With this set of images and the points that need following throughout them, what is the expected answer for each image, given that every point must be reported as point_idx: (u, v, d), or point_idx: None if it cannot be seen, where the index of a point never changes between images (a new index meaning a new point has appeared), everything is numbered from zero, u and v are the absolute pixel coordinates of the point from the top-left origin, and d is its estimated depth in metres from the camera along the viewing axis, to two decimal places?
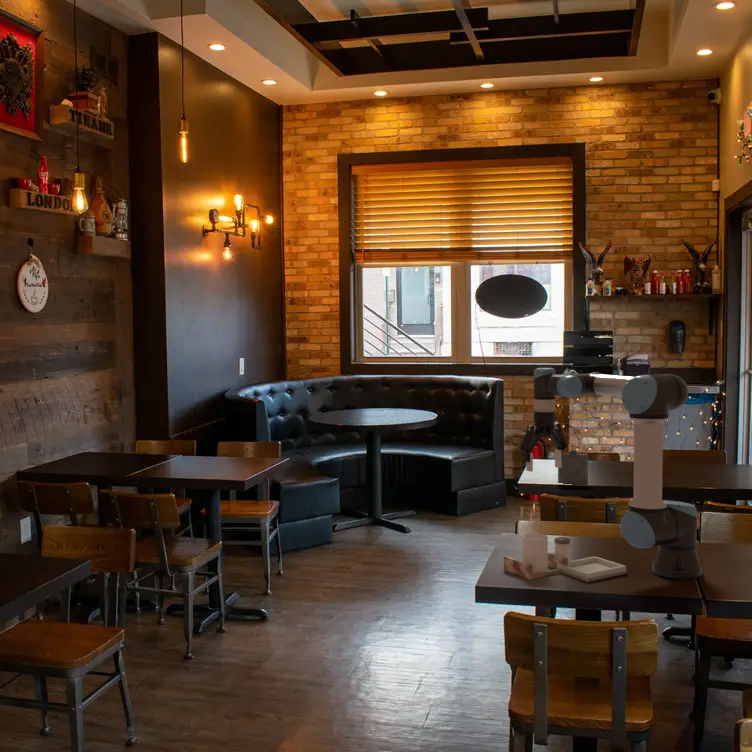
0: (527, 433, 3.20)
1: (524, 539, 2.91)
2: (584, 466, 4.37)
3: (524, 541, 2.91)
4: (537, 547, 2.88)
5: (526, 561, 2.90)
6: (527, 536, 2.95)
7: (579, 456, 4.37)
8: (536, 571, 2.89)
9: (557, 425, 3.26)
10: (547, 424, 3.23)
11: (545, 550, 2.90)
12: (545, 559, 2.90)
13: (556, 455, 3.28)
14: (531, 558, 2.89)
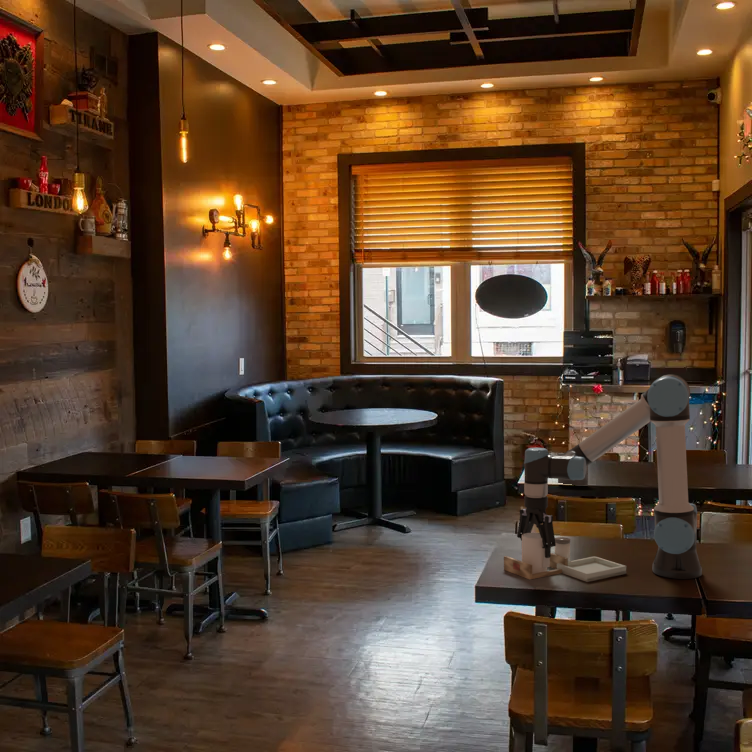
0: None
1: (523, 538, 2.91)
2: None
3: (523, 540, 2.92)
4: (536, 547, 2.89)
5: (525, 560, 2.91)
6: (526, 535, 2.96)
7: None
8: (535, 570, 2.89)
9: None
10: (534, 511, 2.92)
11: None
12: None
13: None
14: (530, 557, 2.90)
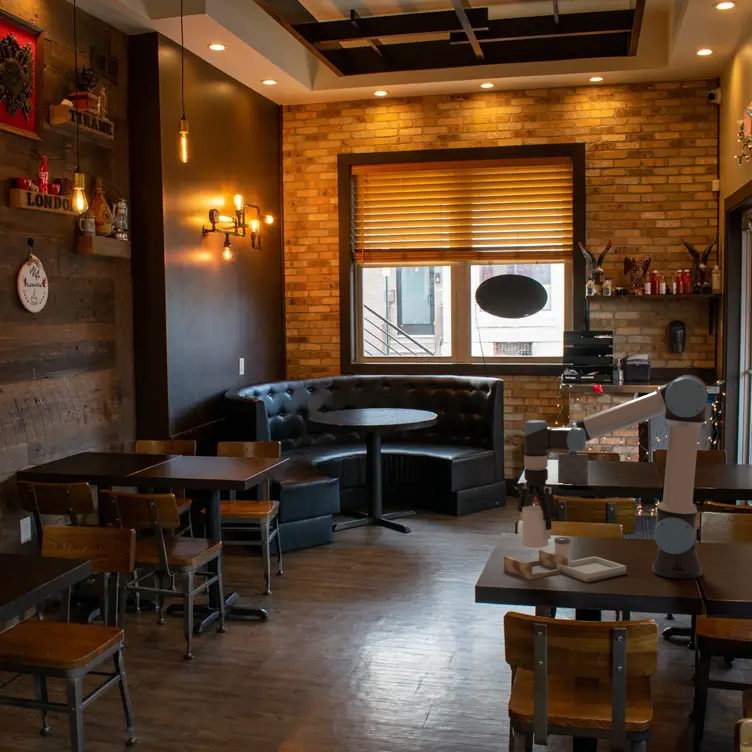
0: None
1: (524, 511, 2.91)
2: (584, 466, 4.37)
3: (523, 513, 2.91)
4: (536, 519, 2.88)
5: (526, 533, 2.90)
6: (527, 508, 2.95)
7: (579, 456, 4.37)
8: (536, 543, 2.89)
9: None
10: (534, 483, 2.92)
11: None
12: None
13: None
14: (531, 530, 2.89)
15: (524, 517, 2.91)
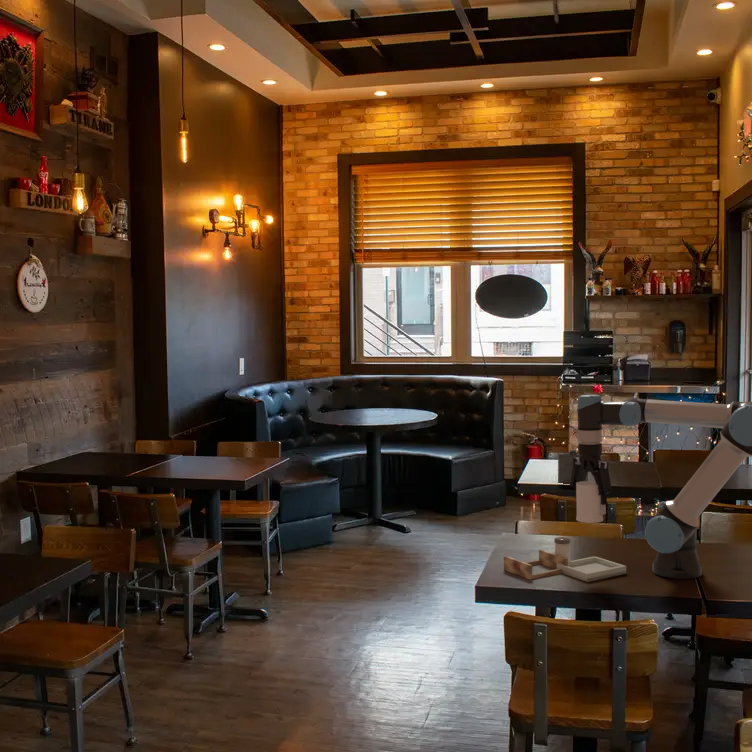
0: None
1: (578, 486, 2.88)
2: None
3: (578, 488, 2.88)
4: (592, 494, 2.85)
5: (581, 508, 2.87)
6: (581, 484, 2.92)
7: (579, 456, 4.37)
8: (591, 518, 2.86)
9: None
10: (588, 458, 2.89)
11: None
12: None
13: None
14: (586, 505, 2.86)
15: (579, 492, 2.88)
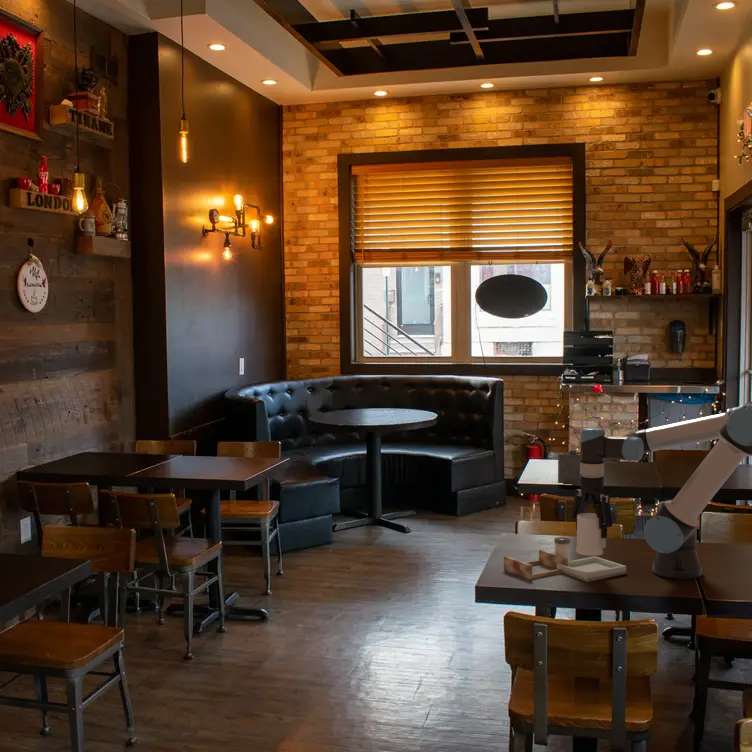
0: None
1: (579, 519, 2.89)
2: None
3: (578, 521, 2.89)
4: (592, 527, 2.86)
5: (581, 541, 2.88)
6: (581, 516, 2.93)
7: (579, 456, 4.37)
8: (591, 551, 2.87)
9: None
10: (590, 491, 2.89)
11: None
12: None
13: None
14: (586, 538, 2.87)
15: (579, 525, 2.89)
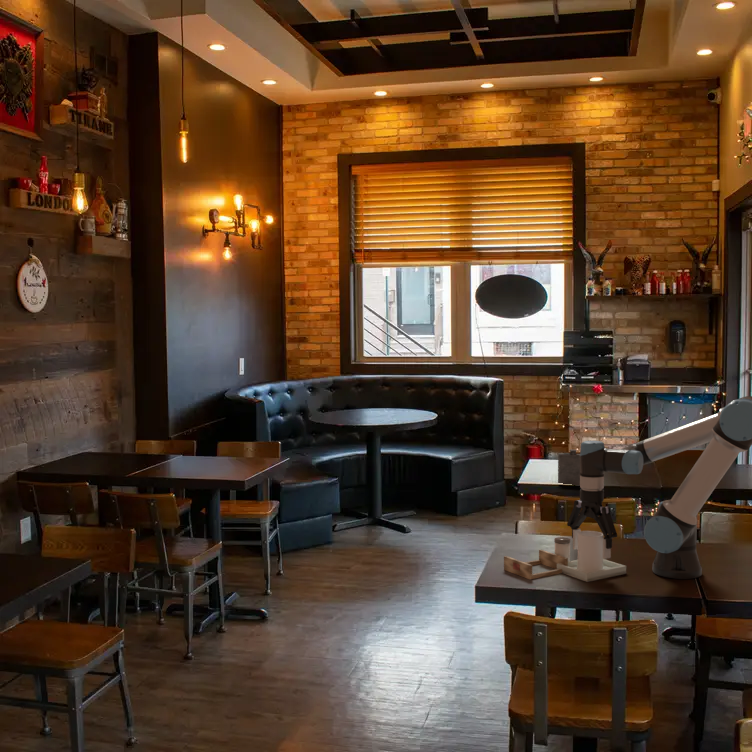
0: None
1: (579, 536, 2.89)
2: None
3: (579, 539, 2.90)
4: (592, 545, 2.87)
5: (581, 559, 2.89)
6: (582, 534, 2.94)
7: (579, 456, 4.37)
8: (591, 569, 2.87)
9: None
10: (590, 504, 2.90)
11: (601, 548, 2.88)
12: (600, 557, 2.88)
13: None
14: (586, 556, 2.87)
15: (580, 542, 2.89)
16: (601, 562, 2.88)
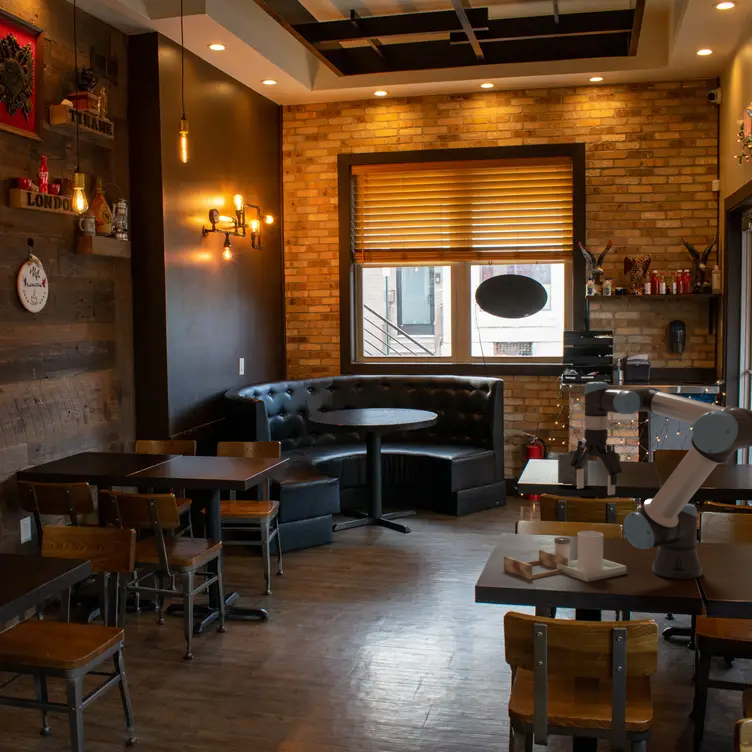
0: None
1: (579, 536, 2.89)
2: (584, 466, 4.37)
3: (579, 539, 2.90)
4: (592, 545, 2.87)
5: (581, 559, 2.89)
6: (582, 534, 2.94)
7: None
8: (591, 569, 2.87)
9: None
10: (594, 443, 2.99)
11: (600, 548, 2.88)
12: (600, 557, 2.88)
13: None
14: (586, 556, 2.87)
15: (580, 542, 2.89)
16: (601, 562, 2.88)
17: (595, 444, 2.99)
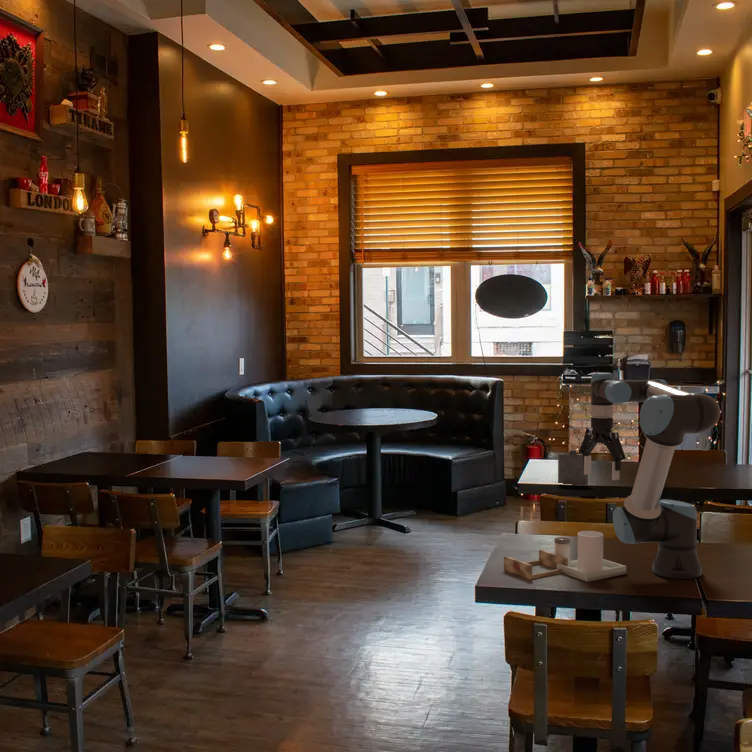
0: None
1: (579, 536, 2.89)
2: None
3: (579, 539, 2.90)
4: (592, 545, 2.87)
5: (581, 559, 2.89)
6: (582, 534, 2.94)
7: (579, 456, 4.37)
8: (591, 569, 2.87)
9: None
10: (600, 431, 3.14)
11: (600, 548, 2.88)
12: (600, 557, 2.88)
13: None
14: (586, 556, 2.87)
15: (580, 542, 2.89)
16: (601, 562, 2.88)
17: (601, 432, 3.13)
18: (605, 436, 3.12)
